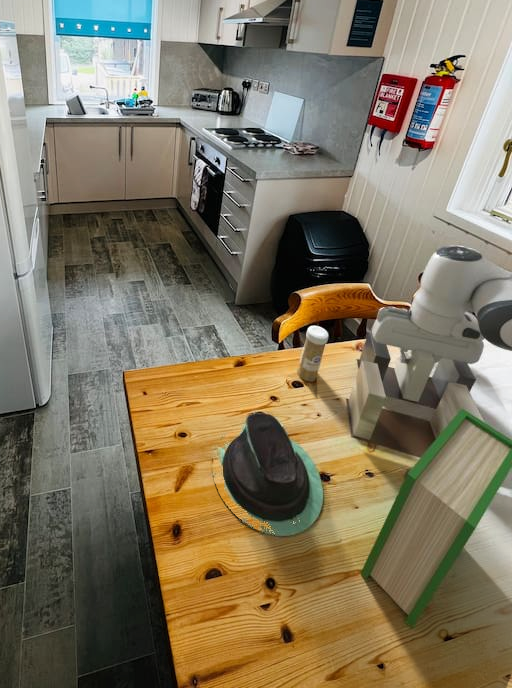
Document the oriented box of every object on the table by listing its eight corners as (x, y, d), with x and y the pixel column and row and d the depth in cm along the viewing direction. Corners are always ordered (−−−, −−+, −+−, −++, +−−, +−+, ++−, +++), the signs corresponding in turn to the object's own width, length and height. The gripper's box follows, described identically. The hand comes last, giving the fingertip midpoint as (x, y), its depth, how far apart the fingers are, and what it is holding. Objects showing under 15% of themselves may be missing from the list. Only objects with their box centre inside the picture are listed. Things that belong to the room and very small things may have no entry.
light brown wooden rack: (446, 429, 84) (468, 384, 78) (463, 474, 75) (490, 427, 70) (344, 401, 89) (358, 357, 84) (349, 440, 80) (366, 394, 75)
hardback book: (411, 628, 55) (475, 528, 45) (360, 573, 60) (407, 473, 51) (461, 545, 64) (523, 447, 55) (413, 503, 70) (461, 408, 60)
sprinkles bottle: (306, 384, 93) (318, 340, 88) (292, 371, 97) (303, 327, 91) (320, 378, 95) (333, 335, 89) (306, 365, 99) (318, 322, 93)
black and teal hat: (192, 434, 79) (274, 409, 86) (226, 551, 69) (317, 513, 76) (217, 418, 68) (311, 391, 75) (263, 557, 58) (366, 511, 64)
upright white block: (407, 372, 96) (423, 334, 91) (418, 402, 88) (435, 362, 84) (394, 369, 97) (408, 331, 92) (403, 398, 89) (419, 358, 84)
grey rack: (445, 384, 95) (462, 349, 90) (461, 418, 86) (480, 382, 82) (355, 361, 100) (366, 327, 96) (361, 392, 92) (373, 356, 87)
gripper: (383, 313, 85) (366, 361, 90) (496, 337, 79) (471, 387, 85) (377, 296, 90) (362, 343, 96) (483, 317, 84) (460, 365, 90)
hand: (414, 364), depth 90 cm, fingers closed on upright white block, 3 cm apart
